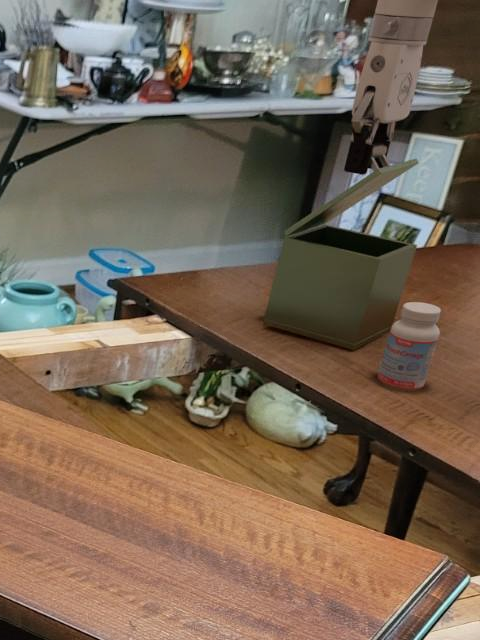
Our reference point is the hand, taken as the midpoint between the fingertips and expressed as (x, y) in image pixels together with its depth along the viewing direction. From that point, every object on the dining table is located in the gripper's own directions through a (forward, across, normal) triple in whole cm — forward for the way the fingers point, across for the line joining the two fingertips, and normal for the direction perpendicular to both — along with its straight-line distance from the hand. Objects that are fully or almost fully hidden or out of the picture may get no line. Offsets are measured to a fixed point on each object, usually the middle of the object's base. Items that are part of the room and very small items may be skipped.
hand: (363, 169), depth 160 cm
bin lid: (+4, 0, +1) cm, 4 cm away
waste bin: (+23, 0, -1) cm, 23 cm away
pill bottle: (+24, -17, -19) cm, 35 cm away
